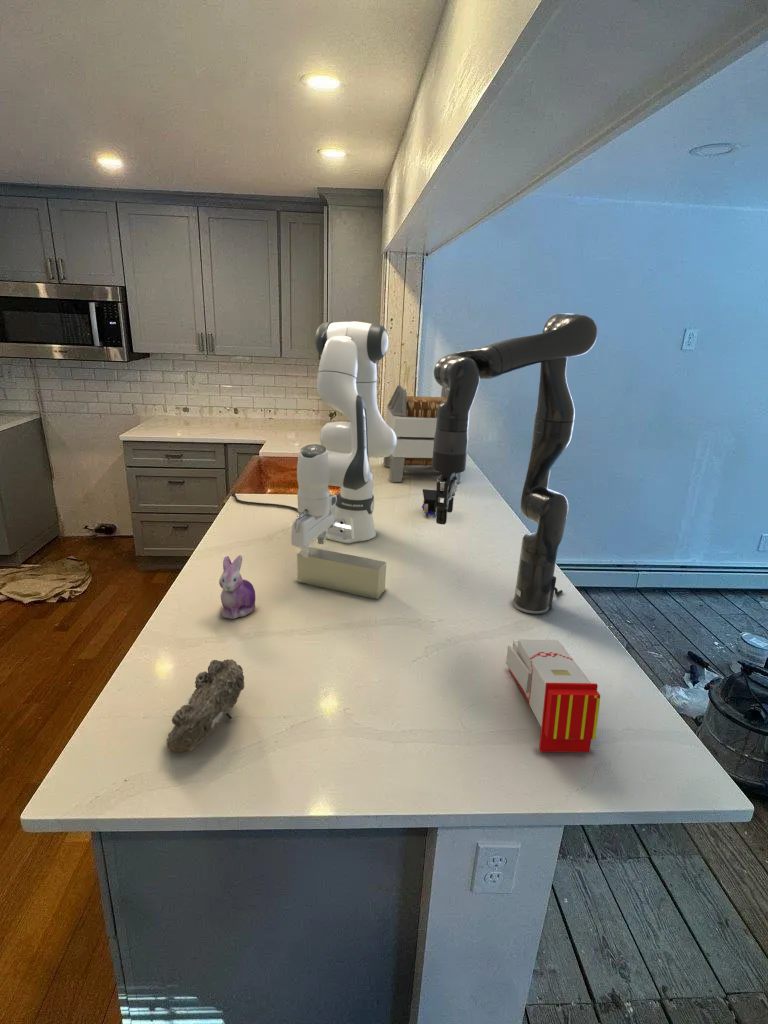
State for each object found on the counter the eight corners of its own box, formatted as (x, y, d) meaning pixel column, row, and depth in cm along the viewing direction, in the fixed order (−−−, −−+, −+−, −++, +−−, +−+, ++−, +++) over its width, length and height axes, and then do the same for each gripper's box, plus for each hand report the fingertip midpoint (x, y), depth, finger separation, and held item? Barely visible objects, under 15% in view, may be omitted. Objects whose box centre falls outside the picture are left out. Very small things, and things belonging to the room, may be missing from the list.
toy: (554, 622, 128) (610, 691, 98) (548, 677, 130) (601, 759, 101) (501, 621, 127) (541, 690, 98) (496, 676, 130) (534, 758, 101)
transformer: (382, 463, 289) (386, 382, 275) (445, 464, 293) (451, 384, 279) (390, 482, 257) (394, 392, 243) (460, 483, 261) (468, 394, 247)
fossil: (192, 660, 117) (244, 628, 112) (224, 691, 120) (276, 661, 115) (142, 746, 98) (202, 712, 93) (182, 779, 101) (242, 748, 96)
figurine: (224, 623, 139) (221, 568, 134) (215, 604, 148) (212, 552, 142) (262, 616, 143) (260, 562, 138) (251, 598, 152) (249, 546, 147)
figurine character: (440, 522, 216) (436, 505, 230) (442, 504, 213) (438, 488, 226) (422, 521, 216) (419, 504, 229) (424, 503, 213) (421, 487, 226)
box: (297, 581, 162) (296, 553, 159) (306, 573, 167) (306, 546, 165) (377, 599, 154) (378, 570, 151) (385, 590, 160) (386, 561, 157)
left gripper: (306, 519, 146) (306, 567, 151) (339, 494, 164) (339, 538, 169) (284, 515, 148) (286, 562, 153) (319, 491, 166) (320, 534, 171)
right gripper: (462, 458, 118) (455, 530, 124) (471, 444, 131) (465, 510, 137) (427, 454, 120) (422, 525, 126) (439, 440, 133) (434, 506, 138)
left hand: (314, 549), depth 161 cm, fingers open, 8 cm apart
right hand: (444, 517), depth 131 cm, fingers open, 8 cm apart
